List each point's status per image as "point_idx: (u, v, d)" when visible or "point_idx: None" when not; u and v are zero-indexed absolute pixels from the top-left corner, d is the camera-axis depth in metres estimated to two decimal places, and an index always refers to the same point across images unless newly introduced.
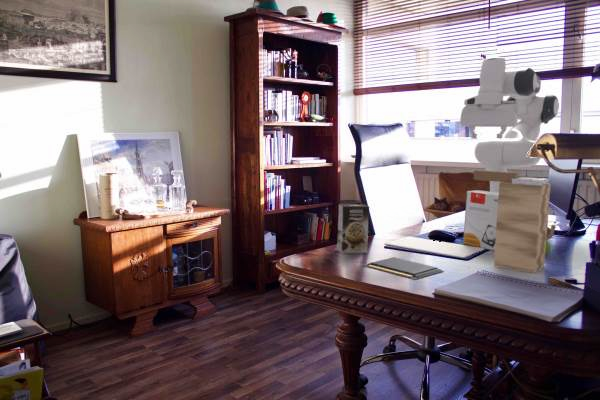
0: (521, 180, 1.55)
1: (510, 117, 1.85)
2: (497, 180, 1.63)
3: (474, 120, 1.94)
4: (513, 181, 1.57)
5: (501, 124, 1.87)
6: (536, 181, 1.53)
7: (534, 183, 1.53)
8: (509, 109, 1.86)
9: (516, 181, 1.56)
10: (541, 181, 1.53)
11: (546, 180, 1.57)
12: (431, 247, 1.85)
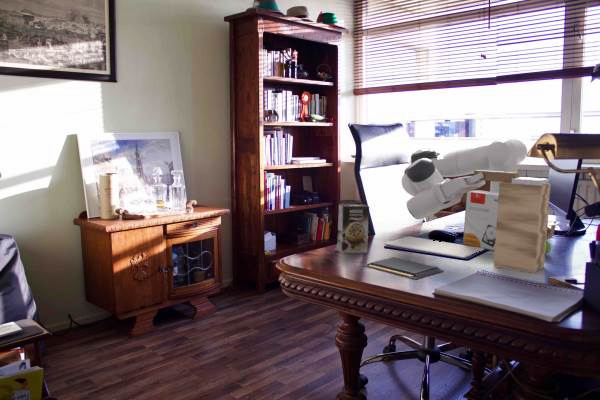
0: (521, 180, 1.55)
1: None
2: (497, 180, 1.63)
3: None
4: (513, 181, 1.57)
5: None
6: (536, 181, 1.53)
7: (534, 183, 1.53)
8: None
9: (516, 181, 1.56)
10: (541, 181, 1.53)
11: (546, 180, 1.57)
12: (431, 247, 1.85)
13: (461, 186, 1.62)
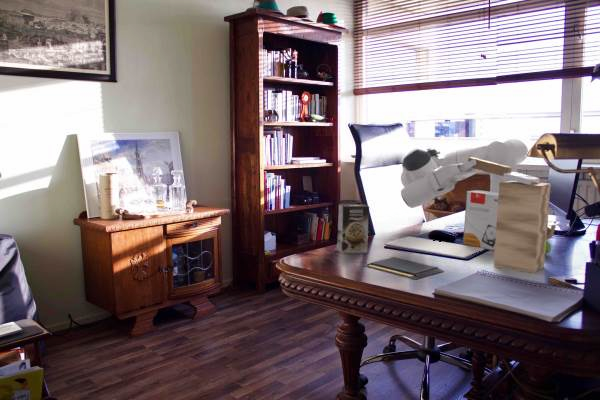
0: (512, 176, 1.57)
1: None
2: (489, 171, 1.64)
3: None
4: (505, 176, 1.58)
5: None
6: (527, 180, 1.54)
7: (524, 181, 1.54)
8: None
9: (508, 176, 1.57)
10: (532, 180, 1.55)
11: (537, 179, 1.58)
12: (431, 247, 1.85)
13: (454, 173, 1.63)
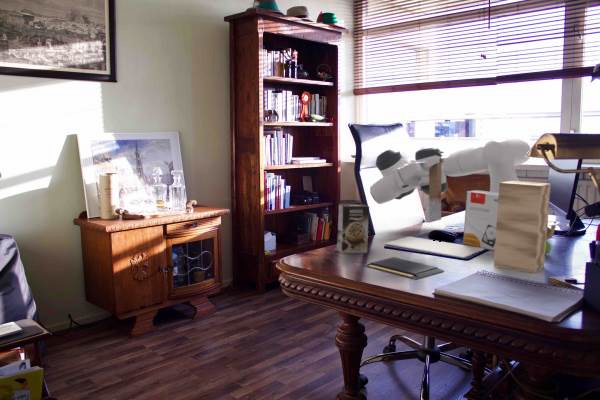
0: (428, 207, 1.76)
1: None
2: (430, 182, 1.78)
3: None
4: (427, 200, 1.76)
5: None
6: (428, 219, 1.76)
7: (426, 218, 1.76)
8: None
9: (427, 203, 1.76)
10: None
11: (436, 220, 1.81)
12: (431, 247, 1.85)
13: (416, 170, 1.72)
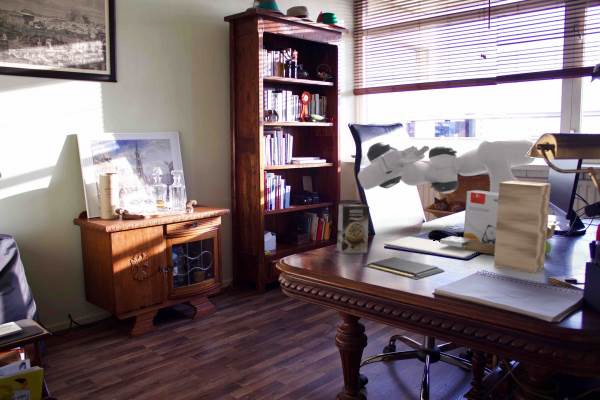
0: (454, 244, 1.82)
1: None
2: (480, 244, 1.78)
3: None
4: (460, 244, 1.80)
5: None
6: (442, 243, 1.84)
7: (444, 241, 1.84)
8: None
9: (458, 244, 1.81)
10: None
11: None
12: (431, 247, 1.85)
13: (399, 157, 1.87)
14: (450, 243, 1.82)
